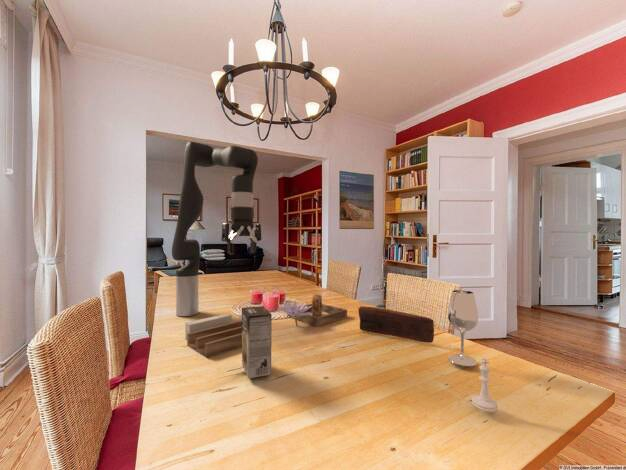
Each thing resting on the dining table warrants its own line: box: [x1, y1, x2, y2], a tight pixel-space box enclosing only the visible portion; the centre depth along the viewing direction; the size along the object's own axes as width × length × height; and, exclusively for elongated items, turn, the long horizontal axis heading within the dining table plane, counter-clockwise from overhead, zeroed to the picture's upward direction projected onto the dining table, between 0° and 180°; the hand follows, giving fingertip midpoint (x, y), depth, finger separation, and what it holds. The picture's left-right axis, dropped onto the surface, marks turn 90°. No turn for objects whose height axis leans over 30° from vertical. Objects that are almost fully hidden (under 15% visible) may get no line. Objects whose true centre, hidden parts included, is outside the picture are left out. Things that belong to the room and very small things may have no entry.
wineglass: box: [447, 289, 479, 367], centre depth 86 cm, size 8×8×20 cm
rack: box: [186, 320, 242, 359], centre depth 100 cm, size 14×20×4 cm
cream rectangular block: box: [184, 313, 233, 341], centre depth 108 cm, size 4×16×6 cm, turn 137°
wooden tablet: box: [358, 305, 435, 344], centre depth 106 cm, size 26×2×10 cm, turn 61°
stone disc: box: [311, 294, 323, 317], centre depth 130 cm, size 10×4×10 cm, turn 168°
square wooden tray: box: [286, 303, 348, 328], centre depth 130 cm, size 18×18×4 cm
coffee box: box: [241, 305, 273, 379], centre depth 81 cm, size 9×6×16 cm
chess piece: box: [471, 357, 499, 412], centre depth 64 cm, size 5×5×10 cm
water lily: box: [278, 301, 312, 327], centre depth 118 cm, size 15×15×9 cm
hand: (242, 253), depth 102 cm, fingers open, 8 cm apart
